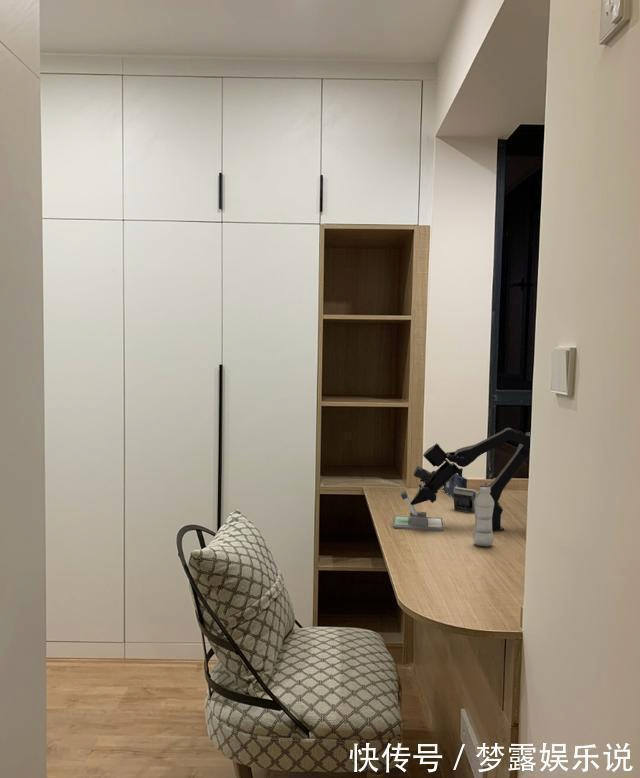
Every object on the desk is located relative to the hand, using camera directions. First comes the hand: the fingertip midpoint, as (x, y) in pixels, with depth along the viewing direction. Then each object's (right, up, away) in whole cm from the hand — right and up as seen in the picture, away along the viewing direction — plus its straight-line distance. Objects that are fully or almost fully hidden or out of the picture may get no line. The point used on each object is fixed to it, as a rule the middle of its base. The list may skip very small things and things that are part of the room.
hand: (411, 504), depth 230 cm
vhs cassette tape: (+25, -5, +41) cm, 48 cm away
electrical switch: (+24, -6, +19) cm, 31 cm away
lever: (+3, -6, 0) cm, 6 cm away
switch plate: (+3, -7, 0) cm, 8 cm away
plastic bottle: (+20, -10, -23) cm, 32 cm away
